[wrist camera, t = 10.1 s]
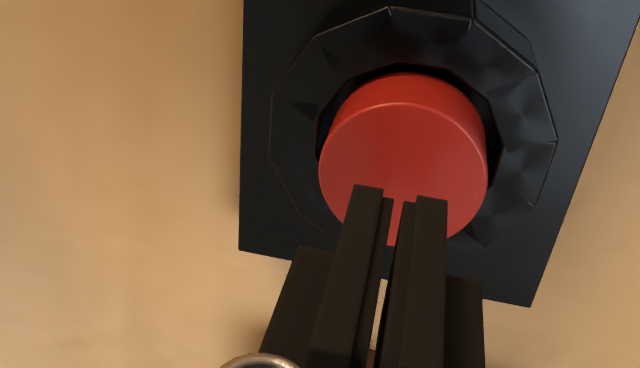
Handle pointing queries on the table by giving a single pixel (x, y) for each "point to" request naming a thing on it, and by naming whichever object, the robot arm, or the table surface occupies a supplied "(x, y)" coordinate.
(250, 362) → the robot arm
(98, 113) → the table surface
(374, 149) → the button
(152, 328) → the table surface
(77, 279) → the table surface
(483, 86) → the button block
